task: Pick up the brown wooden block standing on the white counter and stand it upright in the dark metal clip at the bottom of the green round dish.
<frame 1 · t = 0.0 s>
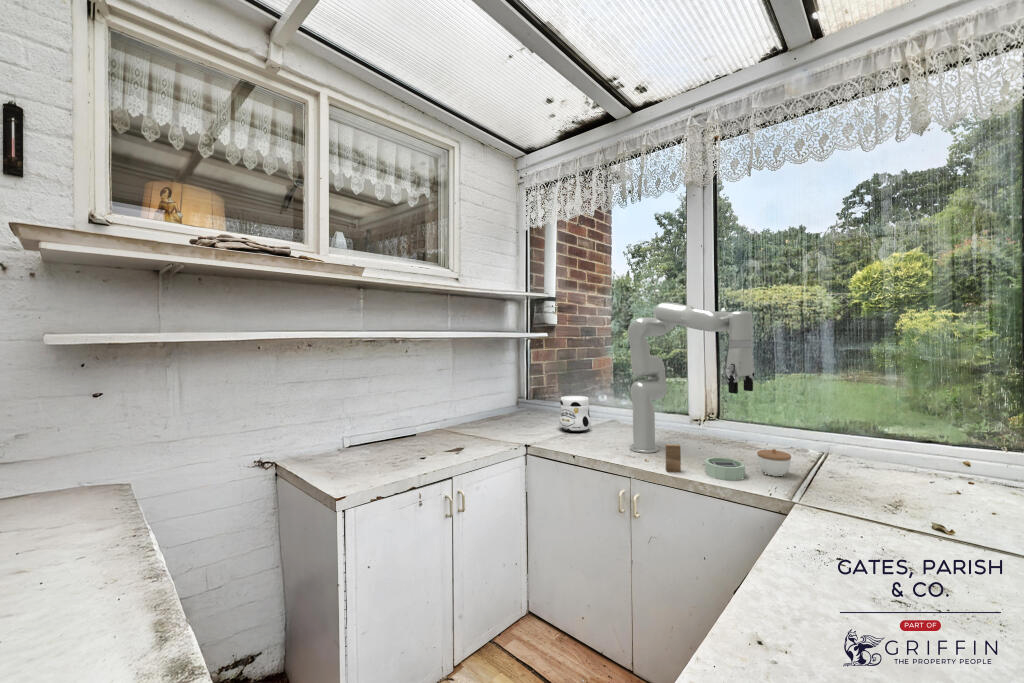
hand: (740, 392, 156), 31 cm above the worktop, tool pointing down, fingers open, 9 cm apart
green round dish: (724, 474, 159), on the worktop
lidded jar: (774, 474, 159), on the worktop
milk container: (575, 430, 234), on the worktop
brown wooden block: (673, 471, 164), on the worktop
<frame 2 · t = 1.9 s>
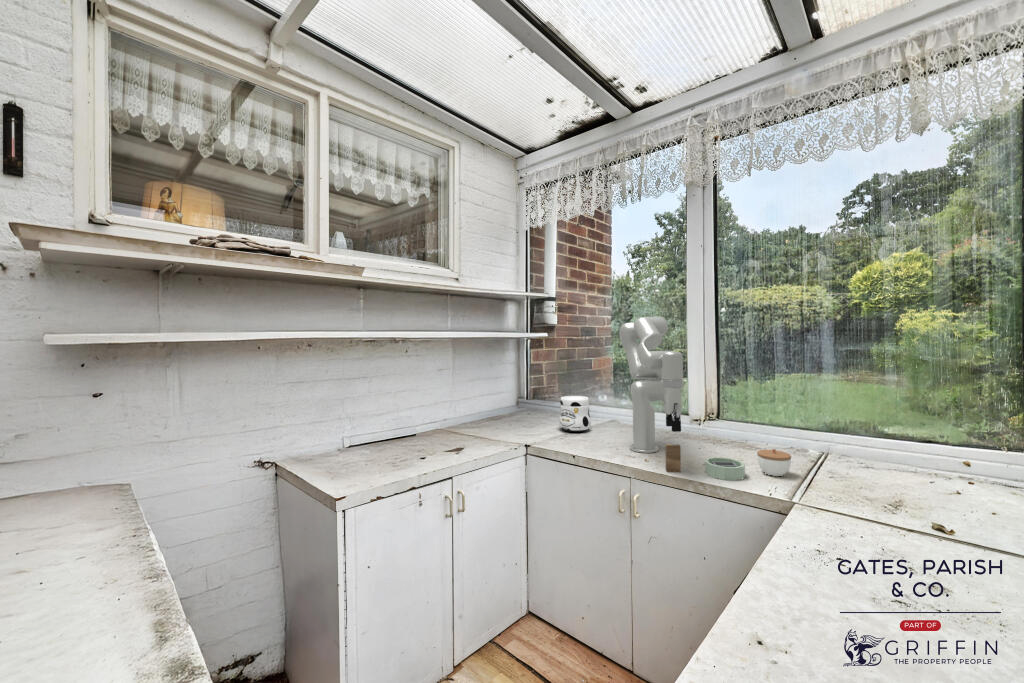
hand: (673, 428, 163), 16 cm above the worktop, tool pointing down, fingers open, 9 cm apart
nothing on the worktop moved.
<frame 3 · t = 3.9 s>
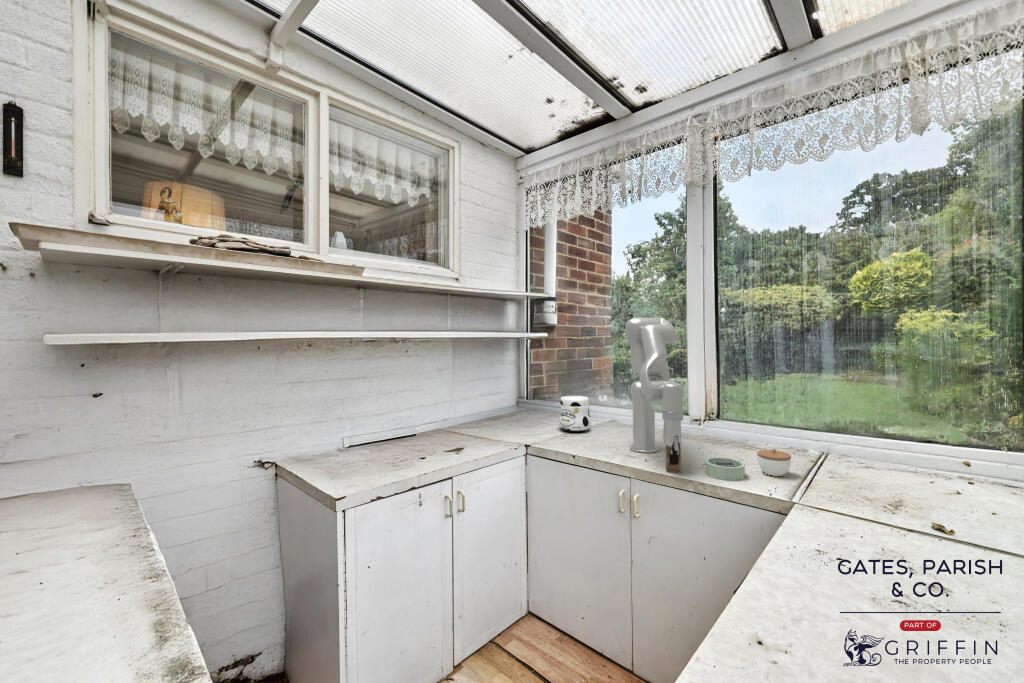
hand: (673, 462, 164), 3 cm above the worktop, tool pointing down, fingers closed on brown wooden block, 2 cm apart
brown wooden block: (673, 471, 164), on the worktop, touching gripper
everything else where it was.
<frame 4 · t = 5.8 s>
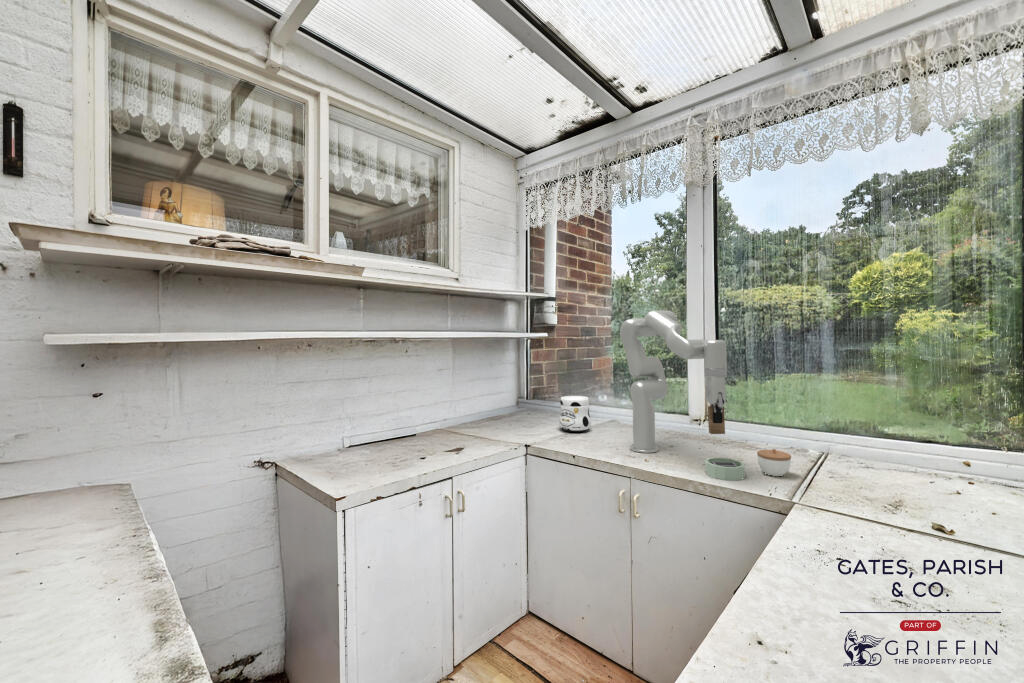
hand: (716, 421, 159), 20 cm above the worktop, tool pointing down, fingers closed on brown wooden block
brown wooden block: (716, 433, 159), point 15 cm above the worktop, touching gripper
everything else where it was.
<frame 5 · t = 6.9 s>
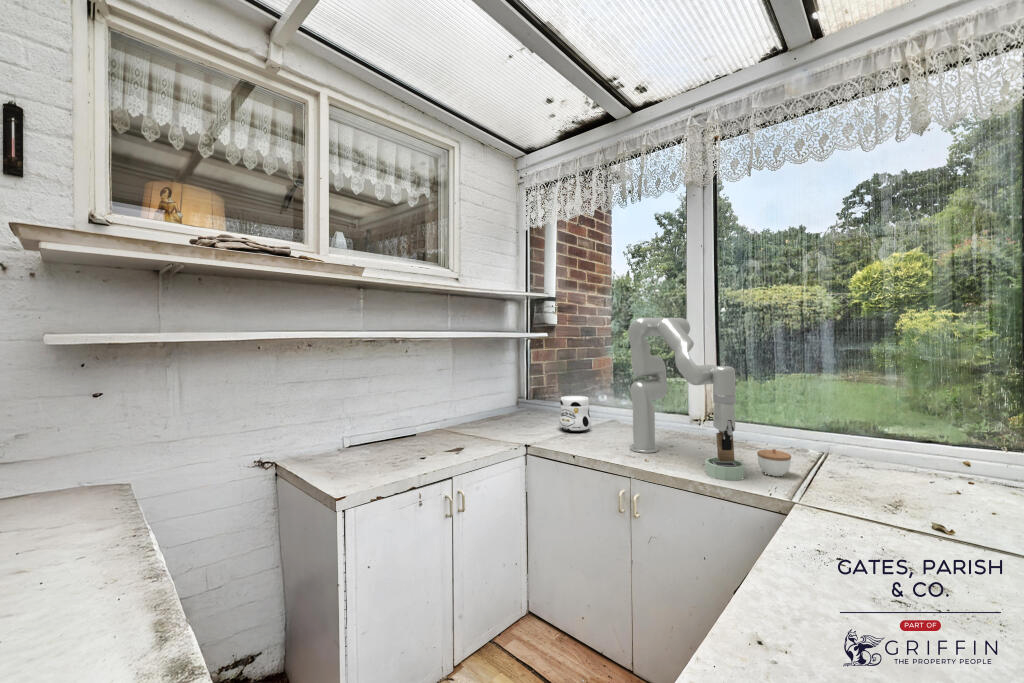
hand: (725, 448, 159), 10 cm above the worktop, tool pointing down, fingers closed on brown wooden block
brown wooden block: (726, 460, 159), point 5 cm above the worktop, touching gripper
everything else where it was.
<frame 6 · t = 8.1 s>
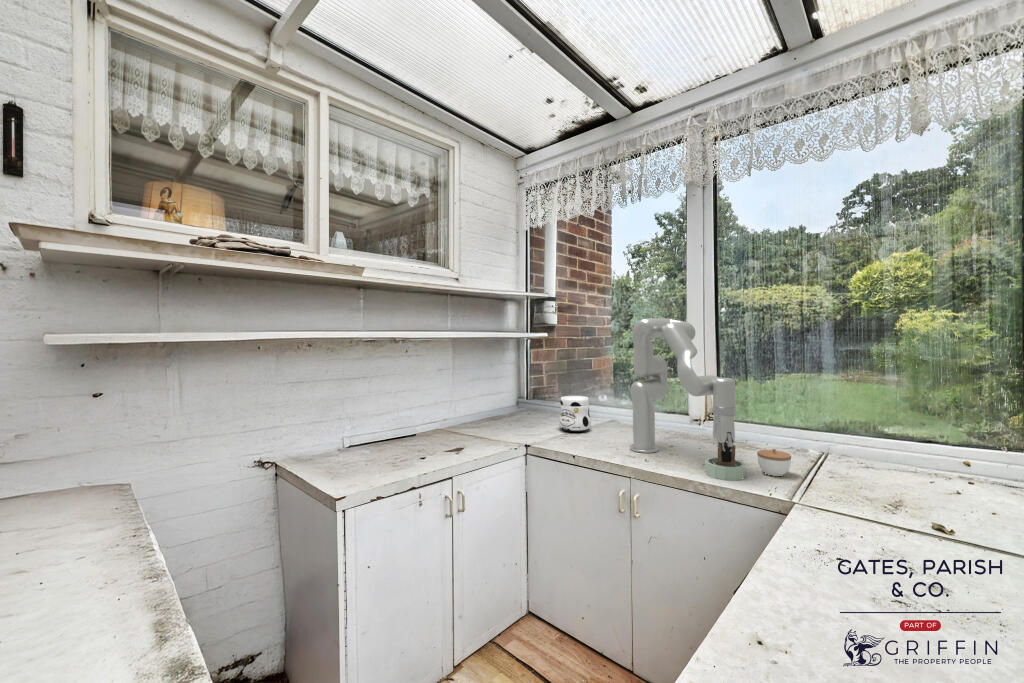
hand: (724, 459, 159), 6 cm above the worktop, tool pointing down, fingers open, 3 cm apart
brown wooden block: (726, 471, 159), point 1 cm above the worktop, touching green round dish
everything else where it was.
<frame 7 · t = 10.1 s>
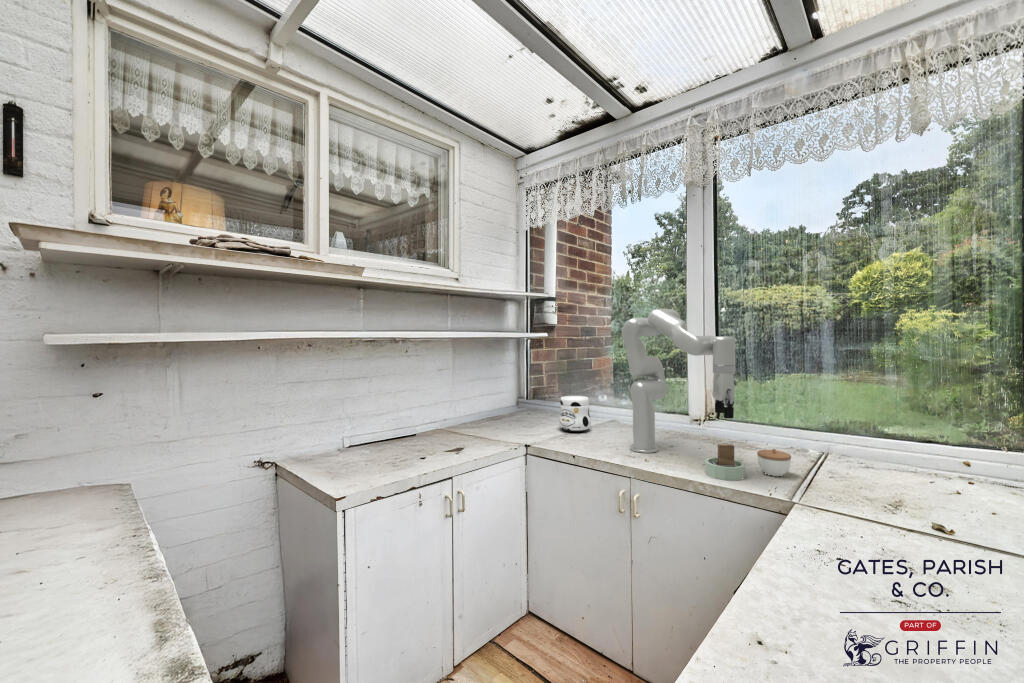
hand: (723, 415, 159), 22 cm above the worktop, tool pointing down, fingers open, 9 cm apart
nothing on the worktop moved.
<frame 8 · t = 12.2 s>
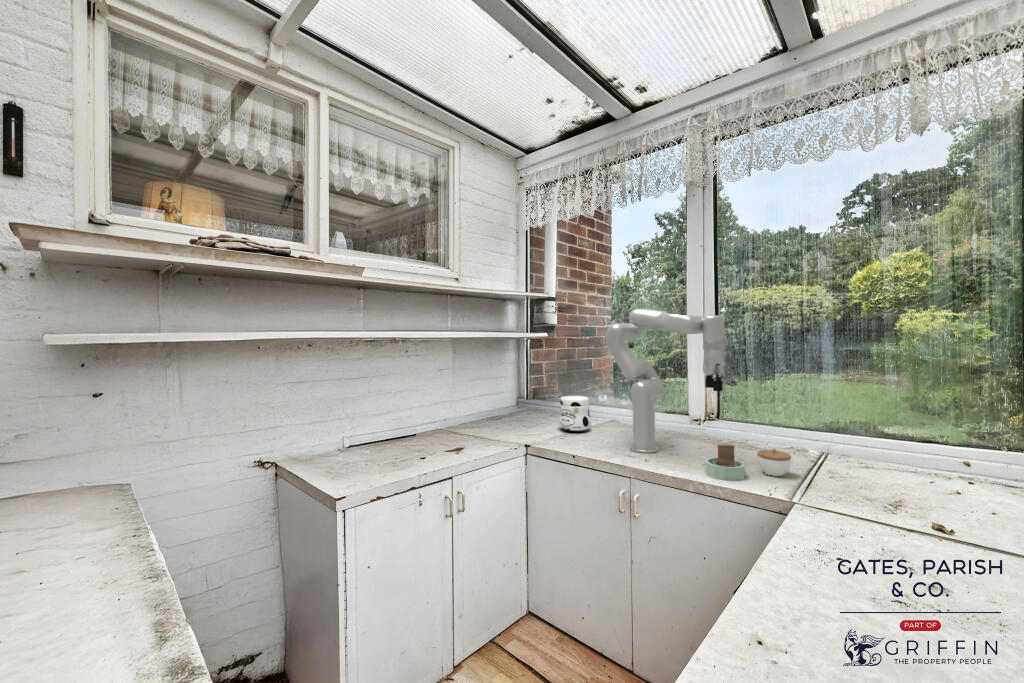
hand: (713, 389, 171), 30 cm above the worktop, tool pointing down, fingers open, 9 cm apart
nothing on the worktop moved.
at the end: brown wooden block 0.5 cm off-centre on the green round dish, point 1.0 cm above the green round dish's base; brown wooden block tilted 0°; the gripper is holding nothing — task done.
